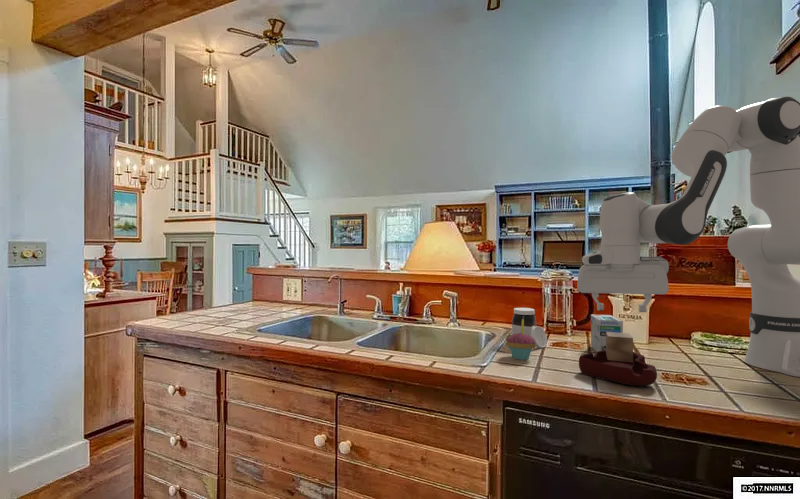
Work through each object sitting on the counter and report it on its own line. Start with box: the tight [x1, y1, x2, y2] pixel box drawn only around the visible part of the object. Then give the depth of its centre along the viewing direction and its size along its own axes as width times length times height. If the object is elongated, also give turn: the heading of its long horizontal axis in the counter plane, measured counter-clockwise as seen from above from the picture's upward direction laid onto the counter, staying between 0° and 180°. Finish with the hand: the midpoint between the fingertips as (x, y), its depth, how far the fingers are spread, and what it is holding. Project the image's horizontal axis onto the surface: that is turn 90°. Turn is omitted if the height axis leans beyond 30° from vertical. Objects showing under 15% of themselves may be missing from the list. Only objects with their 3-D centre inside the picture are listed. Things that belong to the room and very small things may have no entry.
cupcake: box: [505, 316, 537, 361], centre depth 118 cm, size 9×8×12 cm
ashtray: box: [578, 350, 658, 389], centre depth 102 cm, size 18×16×5 cm
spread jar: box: [511, 307, 548, 349], centre depth 133 cm, size 12×11×12 cm
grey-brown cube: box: [606, 332, 634, 362], centre depth 101 cm, size 6×6×6 cm
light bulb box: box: [590, 314, 624, 353], centre depth 125 cm, size 11×7×11 cm, turn 168°
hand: (621, 311), depth 101 cm, fingers open, 8 cm apart
